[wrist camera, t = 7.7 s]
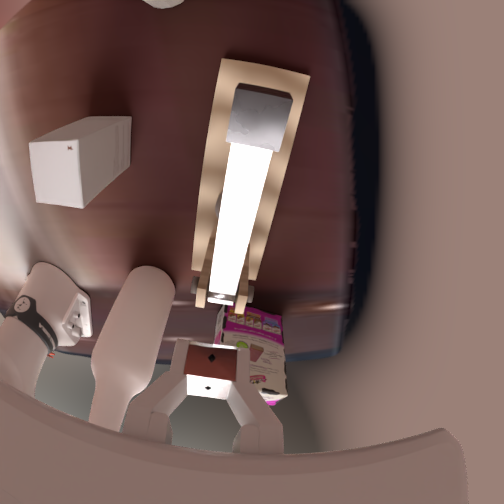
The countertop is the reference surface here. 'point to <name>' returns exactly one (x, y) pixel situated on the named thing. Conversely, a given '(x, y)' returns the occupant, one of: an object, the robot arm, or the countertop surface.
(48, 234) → the countertop surface
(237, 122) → the lever
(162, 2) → the paper towel roll
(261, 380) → the candy bar box
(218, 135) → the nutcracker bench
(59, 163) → the supplement box
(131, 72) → the countertop surface
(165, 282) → the alcohol
